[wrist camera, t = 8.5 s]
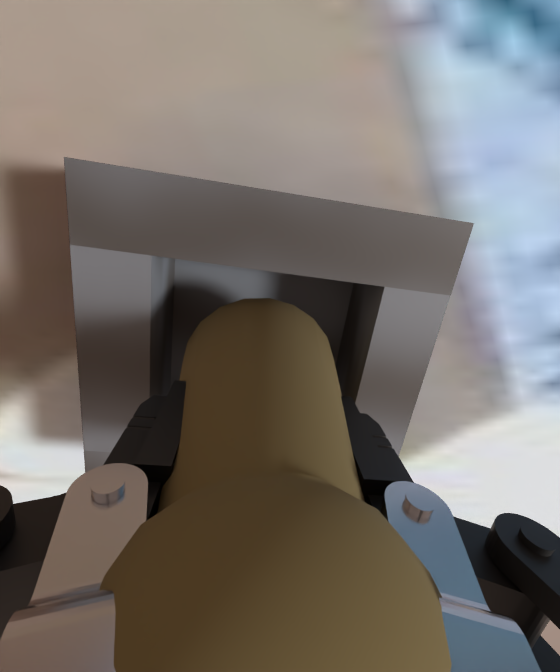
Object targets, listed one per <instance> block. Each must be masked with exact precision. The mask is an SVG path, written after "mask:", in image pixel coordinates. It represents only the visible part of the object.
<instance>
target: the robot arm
mask: <svg viewBox="0 0 560 672" xmlns="http://www.w3.org/2000/svg"><path fill="white" fill-rule="evenodd" d="M185 390H186V381H181V380H175V381H174V382H173V384H172V387H171V389H170V391H169V393H168V395H167V396H160V395H153V396H151V397H150V398H149V399H147V400H146V401H144V402H143V403H141V404H140V405H139V407H138V409H137V410H136V412H135V414H134V415H133V418H132V419H131V420H130V422H129V423H128V425H127V428H125V430H124V432H123V433H122V435H121V437H120V438H119V440H118V442H117V443H116V445H115V446H114V448H113V450H112V451H111V453H110V455H109V456H108V458H107V460H106V461H105V463H104V464H103V466H99V467H96V468H94V469H92V470H90V471H88V472H86V473H84V474H83V475H81V476H80V477H79V478H77V479H76V480H75V481H74V482H73V483H72V485H71V486H70V487H69V489H68V491H67V493H64V494H61V495H58V496H53V497H49V498H43V499H38V500H32V501H27V502H22V503H16V504H13V501H12V495H11V493H10V491H9V490H7V489H6V488H5V487H3V486H0V672H116V671H115V668H114V641H115V615H116V611H115V602H114V593H113V591H112V590H110V589H106V590H100V591H99V589H100V586H101V583H102V580H103V578H104V576H105V574H106V573H107V571H108V570H109V568H110V567H111V566H112V564H113V563H114V561H115V560H116V558H117V557H118V556H119V554H120V553H121V551H122V550H123V549H124V547H125V546H126V544H127V543H128V542H129V540H130V539H131V537H132V536H133V535H134V533H135V532H136V530H137V529H138V528H139V526H140V525H141V524H142V523H144V522H145V521H147V520H148V519H150V518H151V517H153V516H154V515H156V514H157V509H158V504H159V499H160V495H161V491H162V487H163V485H164V484H165V483H166V481H167V480H168V479H169V477H170V476H171V473H172V469H173V465H174V462H175V458H176V454H177V450H178V446H179V442H180V438H181V428H182V419H183V409H184V399H185ZM341 399H342V404H343V409H344V414H345V418H346V423H347V428H348V433H349V438H350V442H351V447H352V452H353V456H354V460H355V465H356V469H357V473H358V477H359V481H360V486H361V490H362V493H363V496H364V499H365V503H367V504H369V505H371V506H373V507H374V508H376V509H378V510H379V511H380V513H381V514H382V515H383V516H384V517H385V518H386V520H387V521H388V522H389V523H390V524H391V525H392V526H393V528H394V529H395V530H396V531H397V532H398V533H399V535H400V536H401V537H402V538H403V539H404V541H405V542H406V543H407V544H408V546H409V547H410V548H411V549H412V551H413V552H414V553H415V554H416V556H417V557H418V558H419V560H420V561H421V562H422V563H423V565H424V566H425V567H426V568H427V570H428V571H429V572H430V574H431V576H432V578H433V580H434V582H435V584H436V586H437V588H438V590H439V592H440V594H441V596H442V598H441V597H440V598H439V601H440V604H441V607H442V616H443V622H444V627H445V632H446V637H447V643H448V648H449V653H450V658H451V663H452V665H451V671H450V672H560V656H559V655H558V654H557V652H556V651H555V650H553V648H552V647H551V646H550V645H549V644H548V643H547V642H546V641H545V640H544V639H543V638H542V637H541V633H542V632H543V630H544V628H545V627H546V625H547V624H548V622H549V621H550V620H551V621H552V622H553V623H554V624H555V625H556V626H557V627H558V628H559V629H560V538H559V537H558V536H557V535H555V534H554V533H553V532H551V531H550V530H549V529H547V528H546V527H544V526H543V525H541V524H539V523H537V522H536V521H534V520H531V519H529V518H527V517H524V516H521V515H518V514H512V513H503V514H500V515H498V516H497V517H496V519H495V521H494V523H493V525H492V527H491V529H490V528H487V527H484V526H481V525H478V524H475V523H471V522H468V521H465V520H462V519H459V518H456V517H453V515H452V513H451V511H450V509H449V507H448V506H447V505H446V503H445V502H444V501H443V500H442V499H441V498H440V497H439V496H437V495H436V494H435V493H434V492H432V491H431V490H429V489H427V488H425V487H423V486H421V485H419V484H416V483H414V482H413V480H412V479H411V477H410V475H409V474H408V472H407V470H406V469H405V467H404V465H403V464H402V462H401V460H400V458H399V457H398V455H397V453H396V452H395V450H394V449H393V448H392V445H391V443H390V442H389V440H388V438H386V435H385V433H384V431H383V430H382V428H381V426H380V425H379V424H378V423H377V422H376V421H375V420H374V419H373V418H371V417H370V416H369V415H368V414H364V413H360V412H359V410H358V408H357V406H356V404H355V402H354V400H353V398H352V397H350V396H341Z"/></svg>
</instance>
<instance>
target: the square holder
mask: <svg viewBox="0 0 560 672" xmlns="http://www.w3.org/2000/svg"><path fill="white" fill-rule="evenodd" d="M64 166H65V180H66V195H67V210H68V224H69V239H70V254H71V269H72V283H73V298H74V313H75V327H76V342H77V357H78V371H79V386H80V401H81V416H82V430H83V445H84V460H85V473H86V472H88V471H90V470H92V469H94V468H96V467H99V466H103V464H104V463H105V461H106V460H107V458H108V456H109V455H110V453H111V451H112V450H113V448H114V446H115V445H116V443H117V442H118V440H119V438H120V437H121V435H122V433H123V432H124V430H125V428H127V425H128V423H129V422H130V420H131V419H132V418H133V415H134V414H135V412H136V410H137V409H138V407H139V405H140V404H141V403H143V402H144V401H146V400H147V399H149V398H150V397H151V396H153V395H160V396H167V395H168V393H169V391H170V389H171V387H172V384H173V382H174V381H175V380H179V379H180V373H181V368H182V362H183V358H184V354H185V350H186V346H187V342H188V340H189V338H190V337H191V335H192V334H193V332H194V331H195V329H196V328H197V326H198V325H199V323H200V322H201V321H202V320H204V319H205V318H206V317H207V316H209V315H210V314H211V313H213V312H214V311H215V310H217V309H218V308H219V307H221V306H224V305H227V304H230V303H233V302H236V301H239V300H242V299H249V298H271V299H275V300H278V301H282V302H285V303H288V304H292V305H295V306H296V307H297V308H299V309H300V310H302V311H303V312H305V313H306V314H308V315H309V316H310V317H312V318H313V319H314V320H315V321H316V322H317V324H318V325H319V327H320V328H321V329H322V331H323V332H324V333H325V335H326V336H327V338H328V341H329V345H330V348H331V351H332V354H333V358H334V362H335V367H336V371H337V376H338V381H339V385H340V390H341V394H342V396H350V397H352V398H353V400H354V402H355V404H356V406H357V408H358V410H359V412H360V413H364V414H368V415H369V416H370V417H371V418H373V419H374V420H375V421H376V422H377V423H378V424H379V425H380V426H381V428H382V430H383V431H384V433H385V435H386V438H388V440H389V442H390V443H391V445H392V448H393V449H394V450H395V452H396V453H397V455H398V456H399V453H400V450H401V447H402V444H403V441H404V438H405V435H406V432H407V429H408V425H409V422H410V419H411V416H412V413H413V410H414V407H415V404H416V401H417V398H418V394H419V391H420V388H421V385H422V382H423V379H424V376H425V373H426V370H427V367H428V364H429V360H430V357H431V354H432V351H433V348H434V345H435V342H436V339H437V336H438V333H439V330H440V326H441V323H442V320H443V317H444V314H445V311H446V308H447V305H448V302H449V299H450V295H451V292H452V289H453V286H454V283H455V280H456V277H457V274H458V271H459V268H460V265H461V261H462V258H463V255H464V252H465V249H466V246H467V243H468V240H469V237H470V234H471V231H472V227H473V224H474V223H469V222H462V221H456V220H450V219H444V218H438V217H431V216H425V215H419V214H413V213H407V212H401V211H394V210H388V209H382V208H376V207H370V206H363V205H357V204H351V203H345V202H339V201H333V200H326V199H320V198H314V197H308V196H302V195H296V194H289V193H283V192H277V191H271V190H265V189H258V188H252V187H246V186H240V185H234V184H228V183H221V182H215V181H209V180H203V179H197V178H191V177H184V176H178V175H172V174H166V173H160V172H153V171H147V170H141V169H135V168H129V167H123V166H116V165H110V164H104V163H98V162H92V161H86V160H79V159H73V158H67V157H64Z"/></svg>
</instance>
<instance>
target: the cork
mask: <svg viewBox="0 0 560 672" xmlns="http://www.w3.org/2000/svg"><path fill="white" fill-rule="evenodd" d="M179 380H181V381H186V390H185V399H184V409H183V419H182V428H181V438H180V442H179V446H178V450H177V454H176V458H175V462H174V465H173V469H172V473H171V476H170V477H169V479H168V480H167V481H166V483H165V484H164V485H163V487H162V491H161V495H160V499H159V504H158V509H157V514H156V515H154V516H153V517H151V518H150V519H148V520H147V521H145V522H144V523H142V524H141V525H140V526H139V528H138V529H137V530H136V532H135V533H134V535H133V536H132V537H131V539H130V540H129V542H128V543H127V544H126V546H125V547H124V549H123V550H122V551H121V553H120V554H119V556H118V557H117V558H116V560H115V561H114V563H113V564H112V566H111V567H110V568H109V570H108V571H107V573H106V574H105V576H104V578H103V580H102V583H101V586H100V589H99V591H100V590H106V589H110V590H112V591H113V593H114V602H115V611H116V615H115V641H114V668H115V671H116V672H450V671H451V665H452V663H451V658H450V653H449V648H448V643H447V637H446V632H445V627H444V622H443V616H442V607H441V604H440V601H439V598H440V597H441V598H442V596H441V594H440V592H439V590H438V588H437V586H436V584H435V582H434V580H433V578H432V576H431V574H430V572H429V571H428V570H427V568H426V567H425V566H424V565H423V563H422V562H421V561H420V560H419V558H418V557H417V556H416V554H415V553H414V552H413V551H412V549H411V548H410V547H409V546H408V544H407V543H406V542H405V541H404V539H403V538H402V537H401V536H400V535H399V533H398V532H397V531H396V530H395V529H394V528H393V526H392V525H391V524H390V523H389V522H388V521H387V520H386V518H385V517H384V516H383V515H382V514H381V513H380V511H379V510H378V509H376V508H374V507H373V506H371V505H369V504H367V503H365V499H364V496H363V493H362V490H361V486H360V481H359V477H358V473H357V469H356V465H355V460H354V456H353V452H352V447H351V442H350V438H349V433H348V428H347V423H346V418H345V414H344V409H343V404H342V399H341V396H342V394H341V390H340V385H339V381H338V376H337V371H336V367H335V362H334V358H333V354H332V351H331V348H330V345H329V341H328V338H327V336H326V335H325V333H324V332H323V331H322V329H321V328H320V327H319V325H318V324H317V322H316V321H315V320H314V319H313V318H312V317H310V316H309V315H308V314H306V313H305V312H303V311H302V310H300V309H299V308H297V307H296V306H295V305H292V304H288V303H285V302H282V301H278V300H275V299H271V298H249V299H242V300H239V301H236V302H233V303H230V304H227V305H224V306H221V307H219V308H218V309H217V310H215V311H214V312H213V313H211V314H210V315H209V316H207V317H206V318H205V319H204V320H202V321H201V322H200V323H199V325H198V326H197V328H196V329H195V331H194V332H193V334H192V335H191V337H190V338H189V340H188V342H187V346H186V350H185V354H184V358H183V362H182V368H181V373H180V379H179Z"/></svg>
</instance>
